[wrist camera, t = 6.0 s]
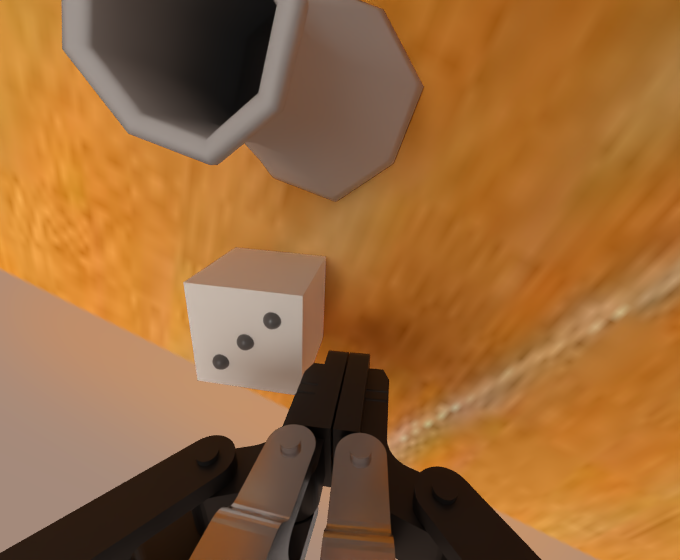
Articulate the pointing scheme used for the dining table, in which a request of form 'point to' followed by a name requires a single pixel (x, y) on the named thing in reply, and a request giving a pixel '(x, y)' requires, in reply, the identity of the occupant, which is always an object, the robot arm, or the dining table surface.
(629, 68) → the dining table surface
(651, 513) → the dining table surface
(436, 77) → the dining table surface
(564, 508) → the dining table surface
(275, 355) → the die
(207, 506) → the robot arm
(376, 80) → the flask
